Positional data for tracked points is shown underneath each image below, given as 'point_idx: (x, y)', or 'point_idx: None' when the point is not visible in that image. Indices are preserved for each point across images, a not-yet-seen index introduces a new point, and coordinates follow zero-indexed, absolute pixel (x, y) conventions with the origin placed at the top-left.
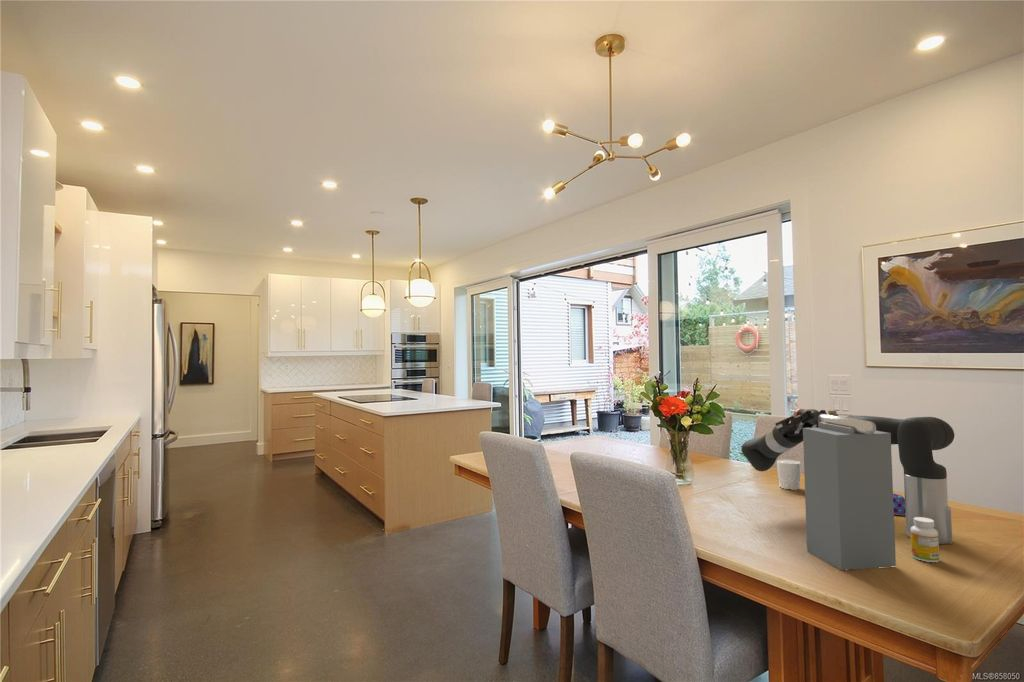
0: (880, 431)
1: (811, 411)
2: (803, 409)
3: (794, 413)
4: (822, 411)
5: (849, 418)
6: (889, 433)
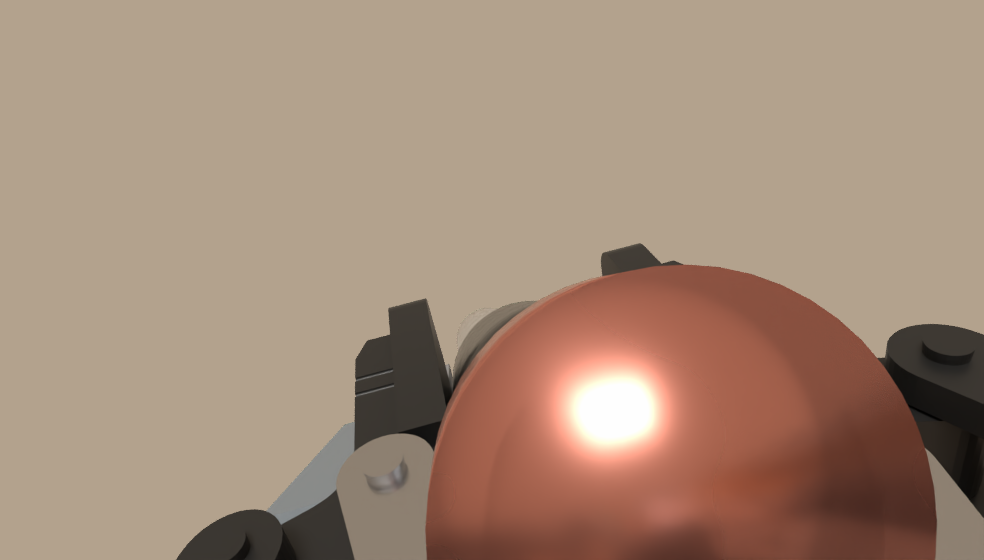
0: (334, 438)
1: (602, 267)
2: (545, 301)
3: (867, 371)
4: (430, 318)
5: (495, 308)
6: (352, 423)
